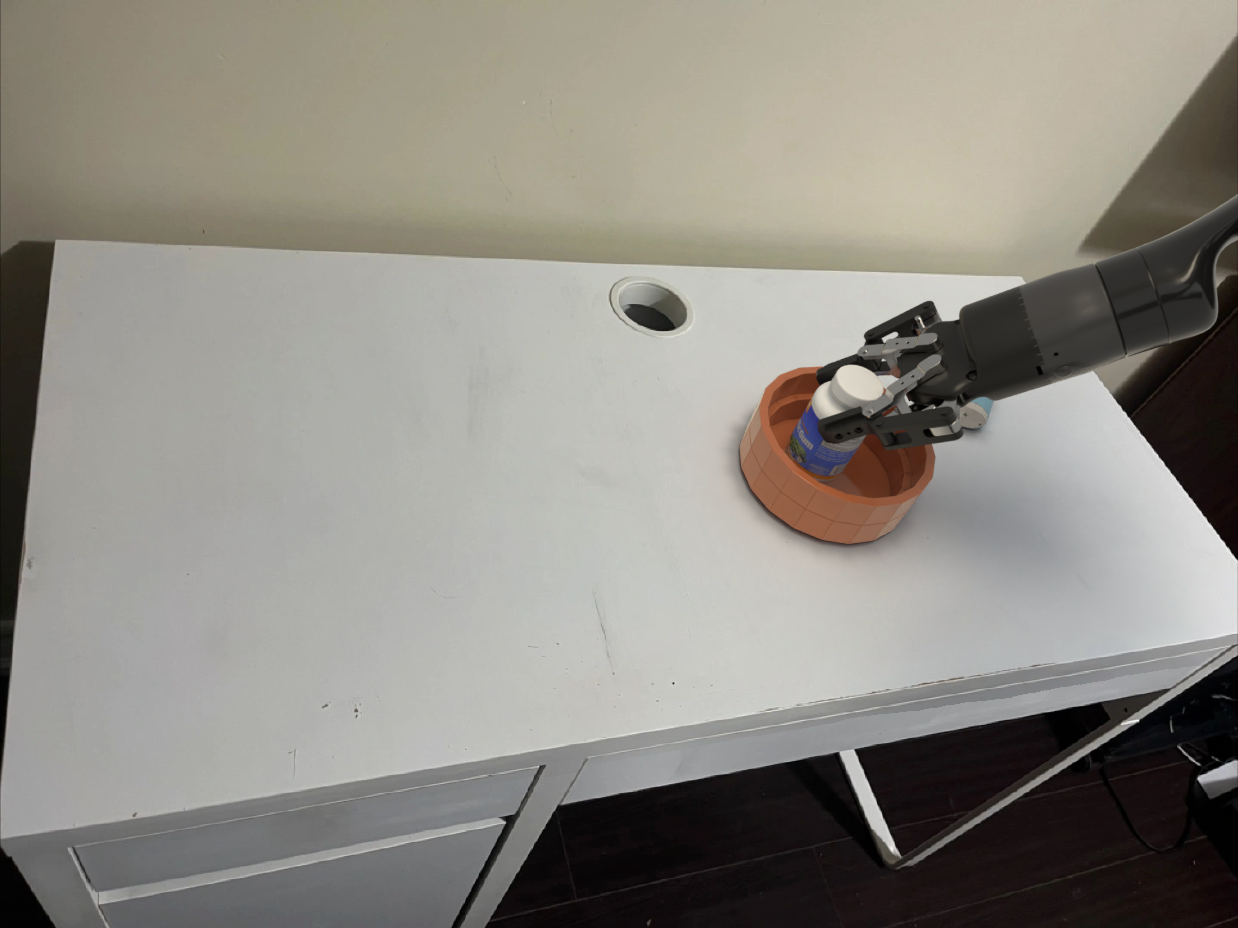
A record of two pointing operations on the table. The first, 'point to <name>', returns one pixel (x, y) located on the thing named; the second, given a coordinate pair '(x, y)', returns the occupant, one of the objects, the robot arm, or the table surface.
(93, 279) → the table surface
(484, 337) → the table surface
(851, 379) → the pill bottle
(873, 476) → the bowl
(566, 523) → the table surface
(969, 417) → the white and blue rod
